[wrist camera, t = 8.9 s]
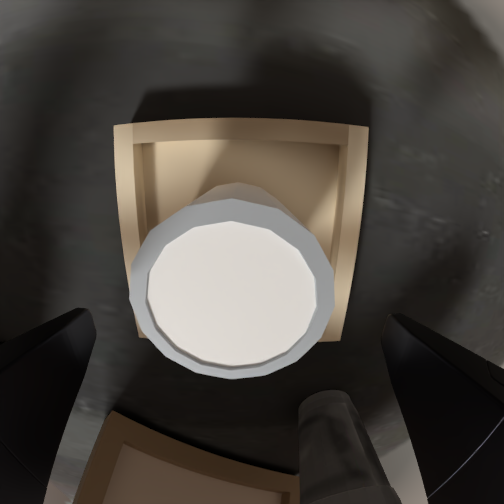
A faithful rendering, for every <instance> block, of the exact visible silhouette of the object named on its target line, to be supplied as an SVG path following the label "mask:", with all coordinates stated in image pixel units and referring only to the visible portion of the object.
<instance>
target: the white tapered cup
mask: <svg viewBox="0 0 504 504" xmlns="http://www.w3.org/2000/svg"><path fill="white" fill-rule="evenodd" d="M129 299H130V302H131V305H132V307H133V310H134V313H135V315H136V318H137V320H138V323H139V325H140V328H141V330H142V332H143V333H144V334H145V335H146V336H147V337H148V338H149V339H150V341H151V342H152V343H153V344H154V345H155V346H156V347H157V348H158V349H159V350H160V351H161V352H162V353H163V354H164V355H165V356H166V357H168V358H169V359H171V360H173V361H175V362H177V363H179V364H180V365H182V366H184V367H186V368H188V369H190V370H192V371H194V372H196V373H200V374H205V375H210V376H215V377H221V378H226V379H238V378H247V377H256V376H264V375H267V374H270V373H272V372H274V371H276V370H279V369H281V368H283V367H285V366H288V365H290V364H292V363H294V362H296V361H298V360H299V359H300V358H301V357H302V356H303V355H304V354H305V353H306V352H307V351H308V350H309V349H310V348H311V347H312V346H313V345H314V344H315V343H316V342H317V341H318V340H319V339H320V338H321V337H322V335H323V333H324V330H325V328H326V326H327V323H328V321H329V319H330V316H331V314H332V312H333V309H334V307H335V295H334V270H333V269H332V267H331V265H330V263H329V261H328V259H327V257H326V255H325V254H324V252H323V250H322V248H321V246H320V244H319V243H318V241H317V239H316V237H315V235H314V234H313V233H312V232H311V231H310V230H309V229H307V228H306V227H305V226H304V225H303V224H302V223H301V222H300V221H299V220H298V219H297V218H296V217H295V216H294V215H293V214H292V213H291V212H290V211H289V210H288V209H287V208H286V207H285V206H284V205H283V204H282V203H281V202H280V201H278V200H277V199H276V198H275V197H273V196H272V195H270V194H269V193H268V192H266V191H265V190H264V189H262V188H261V187H258V186H254V185H249V184H245V183H241V182H236V183H230V184H224V185H218V186H216V187H214V188H213V189H211V190H210V191H208V192H207V193H205V194H203V195H202V196H200V197H199V198H197V199H196V200H194V201H193V202H191V203H190V204H188V205H187V206H185V207H184V208H182V209H181V210H179V211H178V212H176V213H175V214H173V215H172V216H170V217H169V218H168V219H166V220H165V221H163V222H162V223H160V224H159V225H157V226H156V227H155V228H153V229H152V230H150V232H149V234H148V235H147V237H146V239H145V240H144V242H143V244H142V246H141V247H140V249H139V251H138V253H137V254H136V256H135V258H134V260H133V262H132V264H131V276H130V296H129Z"/></svg>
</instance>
